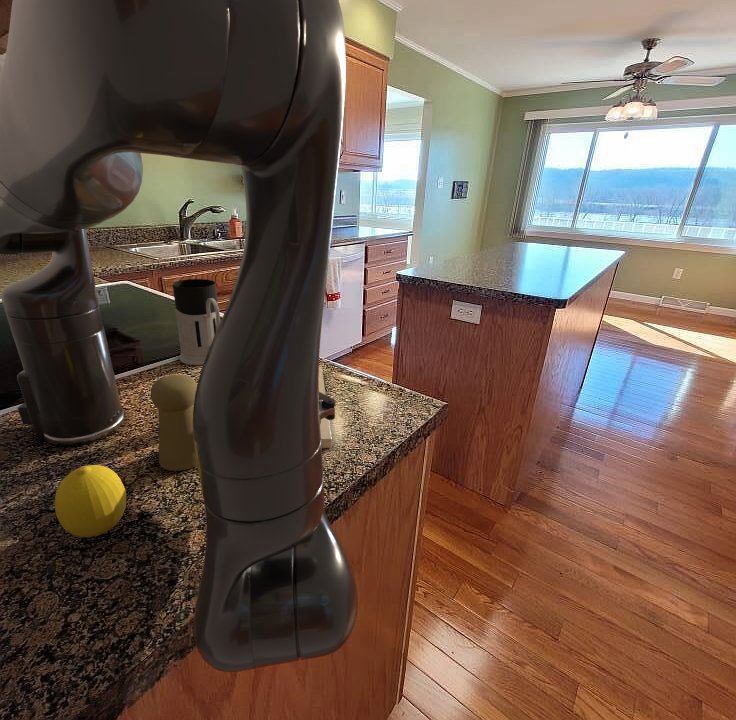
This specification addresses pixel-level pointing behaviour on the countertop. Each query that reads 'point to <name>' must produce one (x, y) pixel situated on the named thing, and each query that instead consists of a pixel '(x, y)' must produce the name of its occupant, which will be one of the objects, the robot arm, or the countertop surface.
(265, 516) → the robot arm
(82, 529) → the lemon
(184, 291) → the glass holder
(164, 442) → the cork
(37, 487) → the countertop surface
